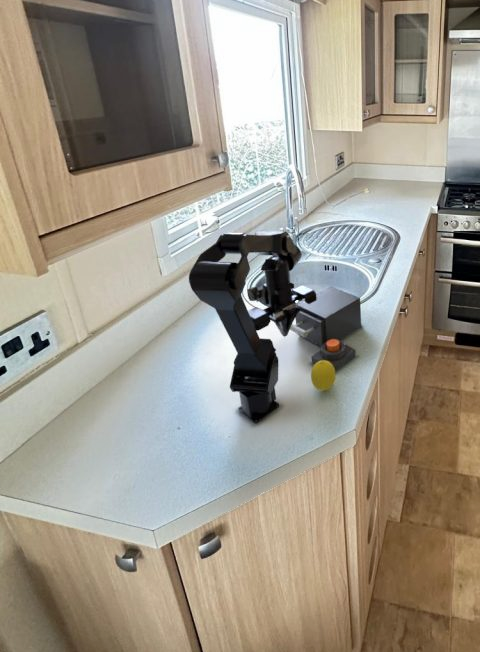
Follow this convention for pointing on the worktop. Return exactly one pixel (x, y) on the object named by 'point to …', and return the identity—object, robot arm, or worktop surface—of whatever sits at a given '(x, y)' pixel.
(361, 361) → the worktop surface
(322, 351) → the control block
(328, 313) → the air fryer
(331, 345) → the button
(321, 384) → the lemon
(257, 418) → the robot arm
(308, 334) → the basket
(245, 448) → the worktop surface
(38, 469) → the worktop surface
